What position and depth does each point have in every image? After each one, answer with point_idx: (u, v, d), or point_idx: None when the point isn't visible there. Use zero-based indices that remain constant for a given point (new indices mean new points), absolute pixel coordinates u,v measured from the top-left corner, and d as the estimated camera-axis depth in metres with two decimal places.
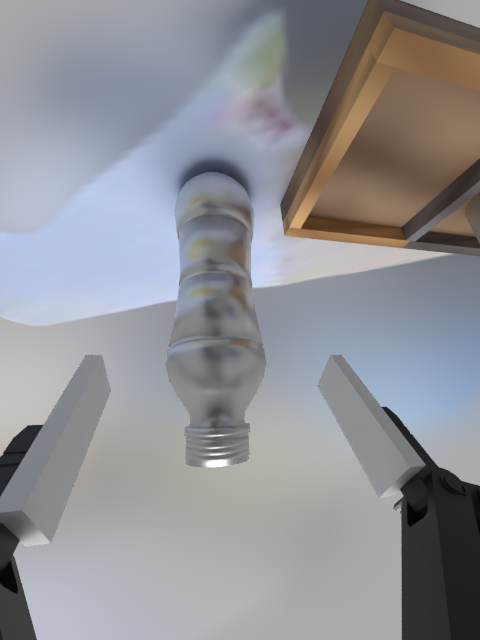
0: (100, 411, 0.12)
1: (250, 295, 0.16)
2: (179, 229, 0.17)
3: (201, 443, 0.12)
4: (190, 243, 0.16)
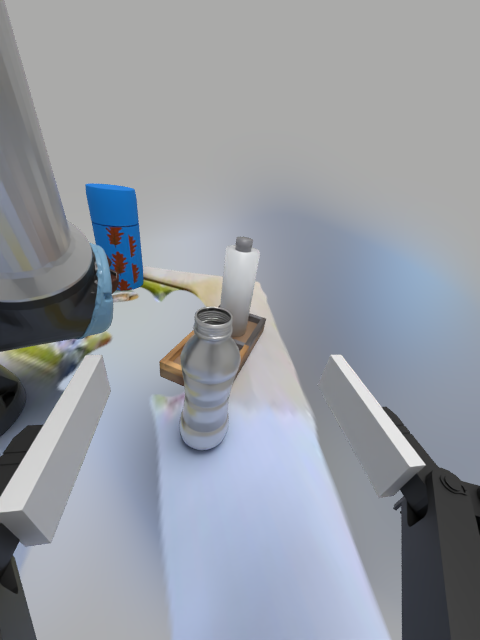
0: (100, 411, 0.12)
1: None
2: (188, 428, 0.29)
3: (194, 324, 0.23)
4: (184, 407, 0.29)
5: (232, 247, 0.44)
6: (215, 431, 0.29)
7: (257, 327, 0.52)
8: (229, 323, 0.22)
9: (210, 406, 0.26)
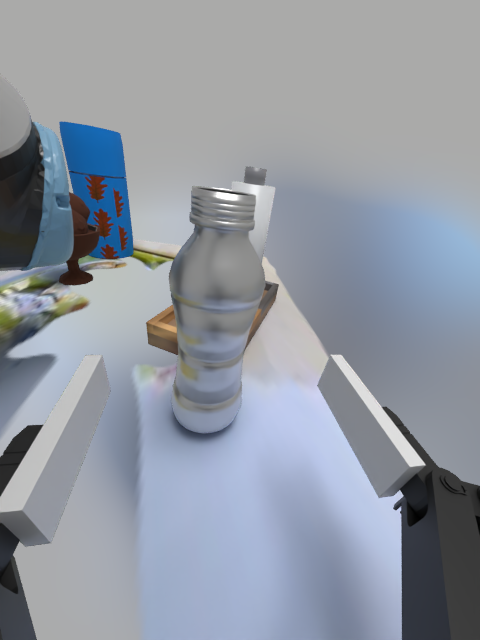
0: (100, 411, 0.12)
1: None
2: (184, 399, 0.19)
3: (191, 207, 0.13)
4: (177, 368, 0.19)
5: None
6: (224, 404, 0.19)
7: (269, 292, 0.43)
8: (252, 199, 0.13)
9: (218, 360, 0.17)
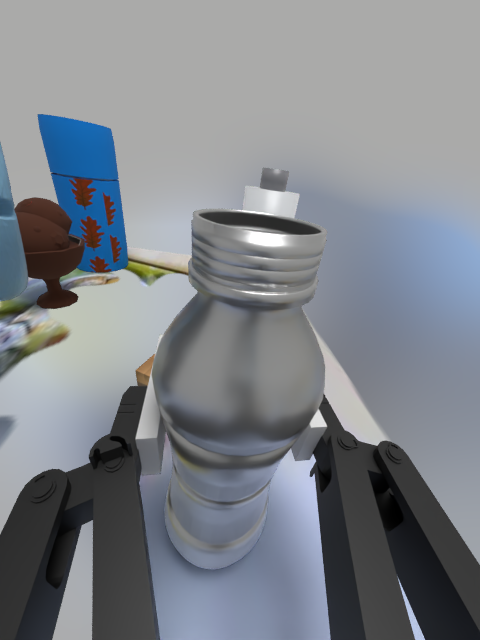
0: None
1: None
2: (183, 530, 0.12)
3: None
4: (172, 483, 0.12)
5: (254, 187, 0.28)
6: (245, 537, 0.12)
7: None
8: (323, 239, 0.06)
9: (239, 496, 0.10)
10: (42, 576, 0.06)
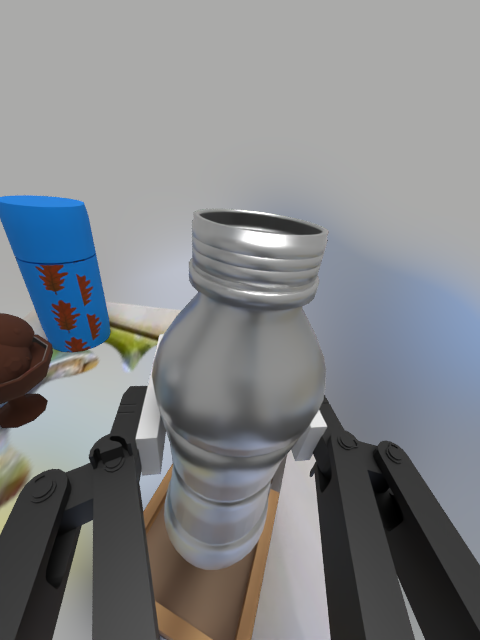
0: None
1: None
2: (183, 531, 0.12)
3: (192, 253, 0.07)
4: (172, 483, 0.12)
5: None
6: (245, 538, 0.12)
7: None
8: (324, 240, 0.06)
9: (239, 497, 0.10)
10: (42, 576, 0.06)
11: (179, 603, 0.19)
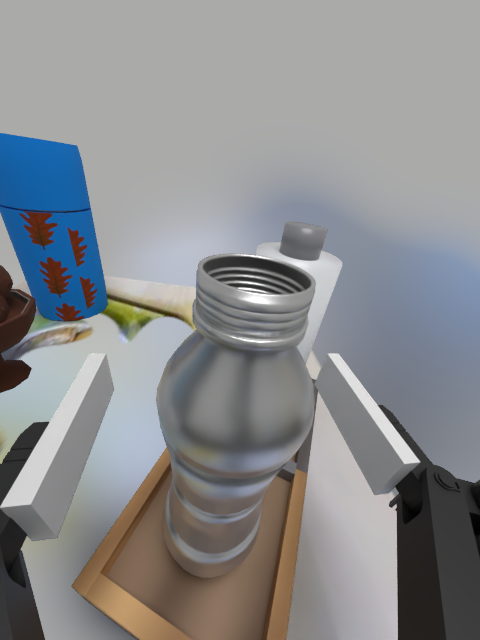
0: (104, 409, 0.12)
1: None
2: (181, 541, 0.13)
3: (196, 298, 0.07)
4: (172, 496, 0.13)
5: (271, 248, 0.18)
6: (239, 547, 0.13)
7: None
8: (312, 293, 0.07)
9: (234, 511, 0.11)
10: None
11: (181, 611, 0.14)
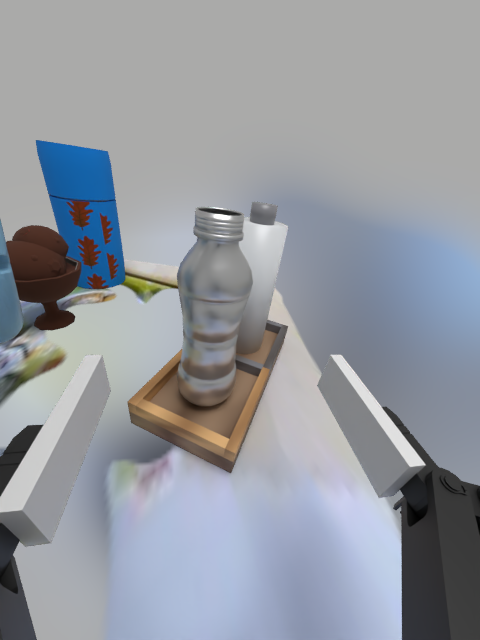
0: (100, 411, 0.12)
1: None
2: (188, 376, 0.24)
3: (195, 223, 0.18)
4: (183, 350, 0.23)
5: (245, 219, 0.29)
6: (221, 380, 0.24)
7: (278, 339, 0.37)
8: (240, 218, 0.17)
9: (215, 342, 0.21)
10: None
11: None
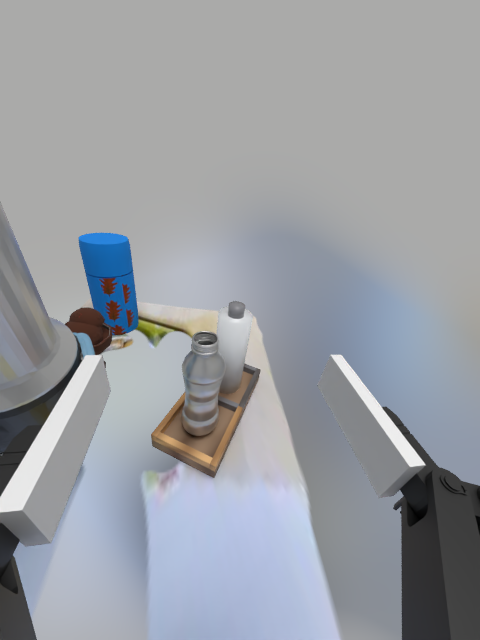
0: (100, 411, 0.12)
1: None
2: (188, 418, 0.39)
3: (192, 344, 0.33)
4: (185, 403, 0.39)
5: (225, 311, 0.44)
6: (208, 421, 0.39)
7: (251, 382, 0.52)
8: (216, 343, 0.32)
9: (204, 402, 0.36)
10: None
11: (188, 446, 0.40)
